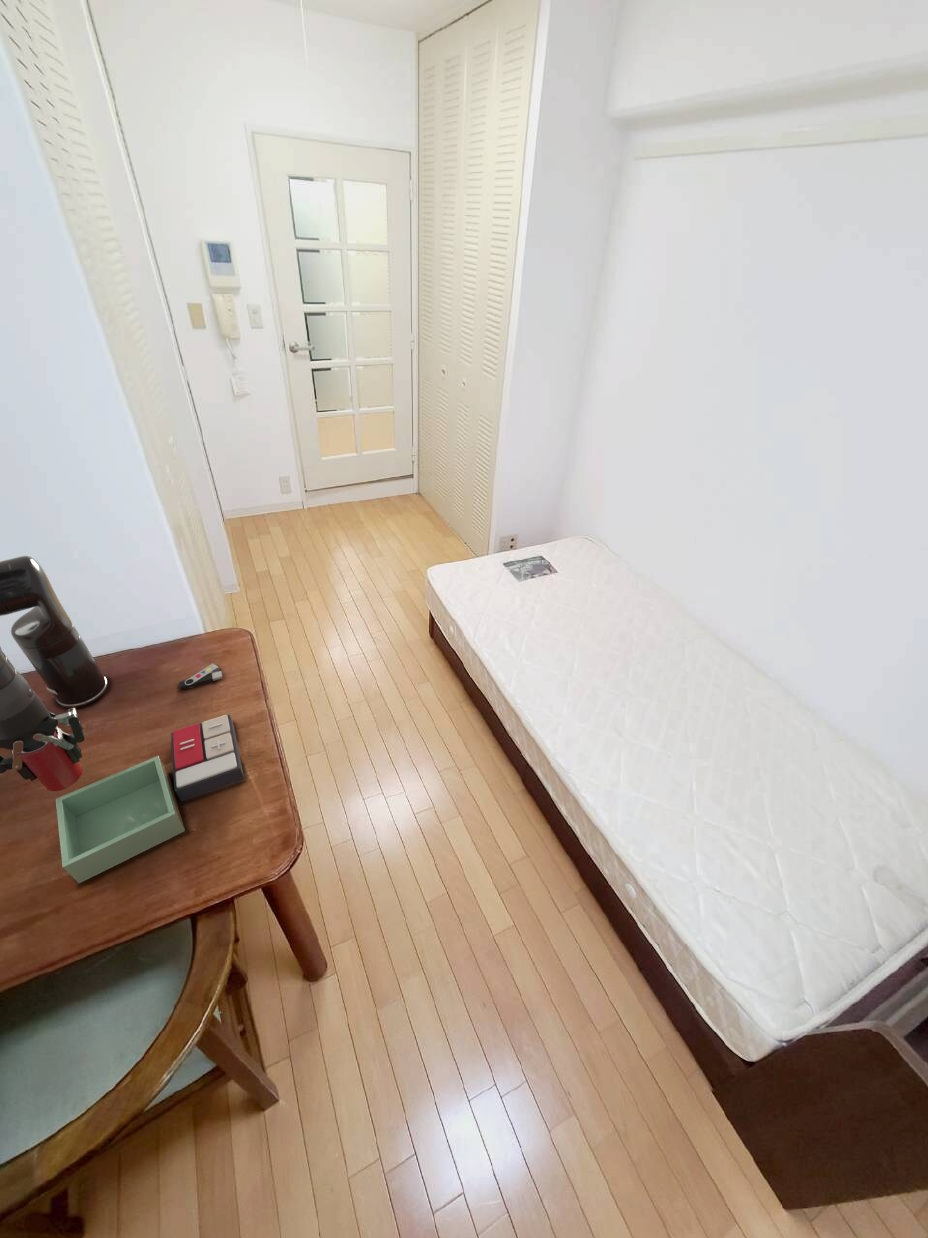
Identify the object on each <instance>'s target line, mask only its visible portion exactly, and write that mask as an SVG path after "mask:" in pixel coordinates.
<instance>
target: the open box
mask: <svg viewBox="0 0 928 1238" xmlns="http://www.w3.org/2000/svg"><path fill="white" fill-rule="evenodd" d="M55 805H56V816H57V824H58V825H57V826H58V835H59V845H60V855H61V867H62V869H64V870H65V872H67V874H68V875H69V876H71V877H72V878H73V880H75V882H77V884H81V883H84V882H85V881H87V880H89V879H91V878H93V877H95V876H97V875H99V874H101V873H103V872H105V871H107V870H109V869H112V868H113V867H116V866H118V865H119V864H121V863H123V862H125V861H127V860H129V859H131V858H133V857H135V856H137V855H139V854H141V853H143V852H145V851H147V850H149V849H151V848H154V847H156V846H158V845H159V844H161V843H163V842H165V841H168V840H170V839H171V838H173V837H176V836H177V835H180V834H182V833H185V831H186V829H185V825H184V822H183V819H182V816H181V813H180V808H179V806H178V802H177V799H176V795H175V790H174V787H173V783H172V781H171V777H170V774H169V772H168V770H167V768H166V767H165V765H164V763H163V761H162V760H161V758H160V756H159V755H156V756H153V757H152V758H149V759H147V760H144V761H142V762H139V763H138V764H135V765H132V766H131V767H128V768H125V769H124V770H121V771H118V772H116V773H114V774H111V775H109V776H106V777H104V778H102V779H99V780H98V781H95V782H92V783H90V784H88V785H86V786H82V787H81V788H78V789H76V790H73V791H72V792H69V793H65V794H64V795H61V796H60V797H56V798H55Z"/></svg>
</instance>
